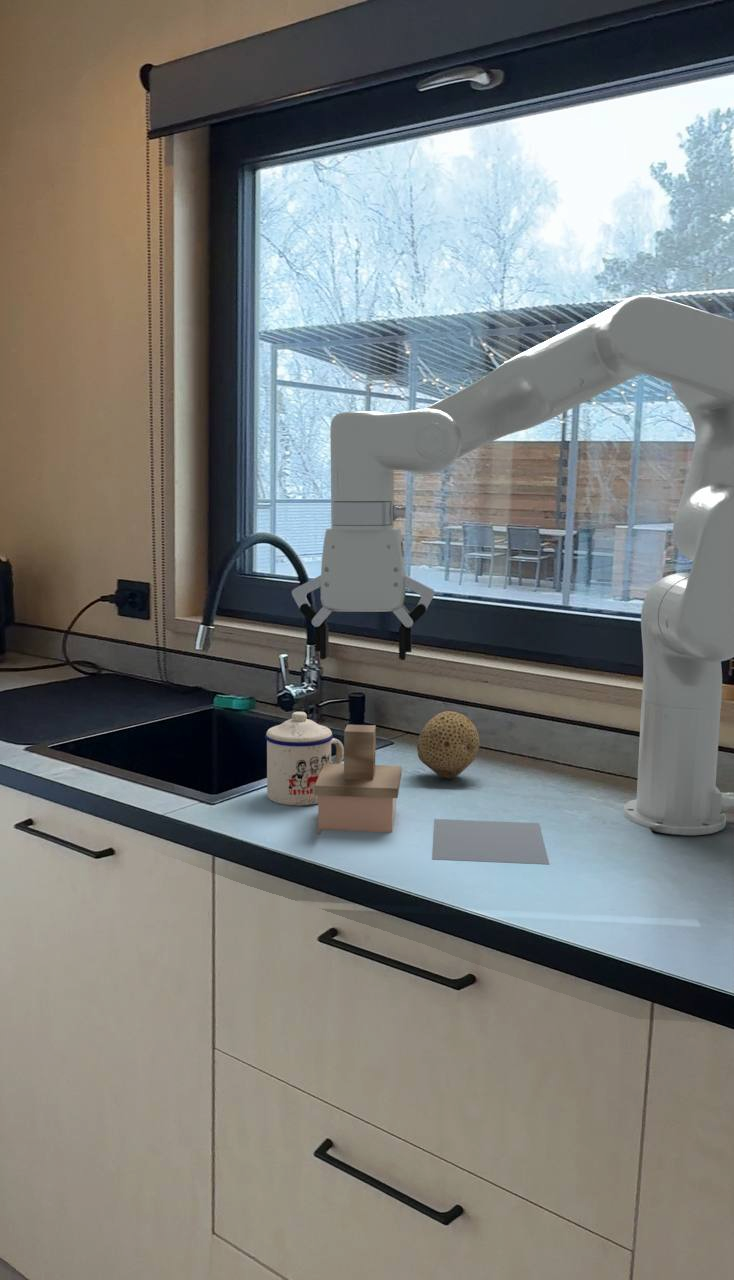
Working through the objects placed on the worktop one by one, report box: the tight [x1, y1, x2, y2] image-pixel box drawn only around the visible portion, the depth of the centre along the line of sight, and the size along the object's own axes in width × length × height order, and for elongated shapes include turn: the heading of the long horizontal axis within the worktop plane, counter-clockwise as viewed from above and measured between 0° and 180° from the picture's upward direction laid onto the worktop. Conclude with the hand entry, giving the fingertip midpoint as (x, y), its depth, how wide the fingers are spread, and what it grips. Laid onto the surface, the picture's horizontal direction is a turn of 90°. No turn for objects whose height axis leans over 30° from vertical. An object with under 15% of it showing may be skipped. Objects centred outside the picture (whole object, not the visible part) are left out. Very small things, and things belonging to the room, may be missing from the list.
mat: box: [431, 818, 550, 866], centre depth 121 cm, size 13×14×1 cm
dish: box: [317, 795, 398, 835], centre depth 128 cm, size 9×9×5 cm
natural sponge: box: [416, 710, 480, 780], centre depth 147 cm, size 9×9×10 cm
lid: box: [314, 724, 403, 799], centre depth 127 cm, size 10×10×7 cm
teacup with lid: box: [264, 711, 344, 807], centre depth 139 cm, size 12×9×12 cm
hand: (363, 657), depth 125 cm, fingers open, 9 cm apart
